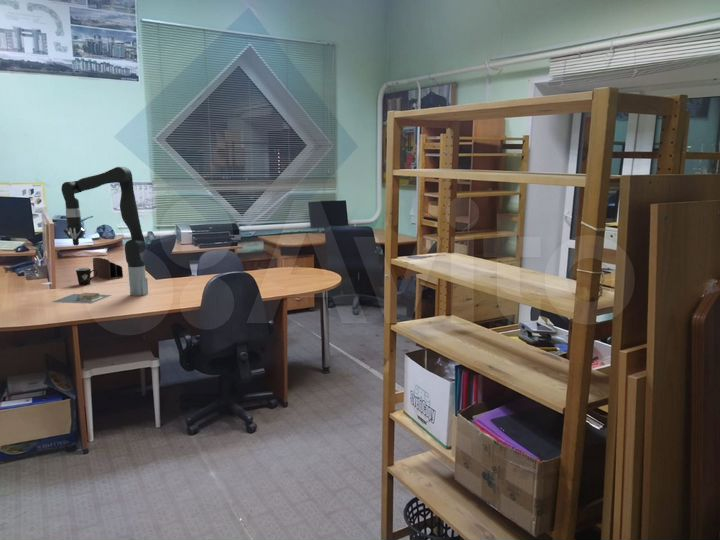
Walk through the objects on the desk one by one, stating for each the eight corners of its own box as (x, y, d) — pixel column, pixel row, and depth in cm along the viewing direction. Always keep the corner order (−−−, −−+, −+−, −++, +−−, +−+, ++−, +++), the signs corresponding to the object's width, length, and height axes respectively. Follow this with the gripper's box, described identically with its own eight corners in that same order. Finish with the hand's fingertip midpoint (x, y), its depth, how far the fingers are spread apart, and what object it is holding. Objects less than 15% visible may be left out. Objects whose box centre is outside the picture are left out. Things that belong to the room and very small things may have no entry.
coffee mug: (75, 286, 343) (73, 270, 341) (79, 283, 352) (78, 268, 350) (94, 285, 346) (93, 270, 344) (98, 282, 354) (97, 267, 352)
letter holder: (110, 280, 363) (108, 259, 360) (93, 276, 373) (91, 256, 371) (123, 277, 371) (121, 257, 368) (106, 274, 382) (105, 254, 379)
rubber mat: (112, 296, 315) (112, 295, 315) (91, 305, 295) (91, 303, 295) (74, 295, 318) (74, 293, 318) (51, 303, 298) (50, 301, 298)
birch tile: (85, 296, 310) (99, 297, 309) (77, 299, 303) (92, 300, 302) (84, 292, 309) (99, 293, 308) (76, 295, 303) (91, 295, 302)
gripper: (87, 215, 318) (90, 244, 321) (67, 215, 319) (69, 244, 323) (79, 216, 310) (82, 246, 314) (58, 216, 312) (61, 246, 315)
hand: (76, 245), depth 318 cm, fingers closed
